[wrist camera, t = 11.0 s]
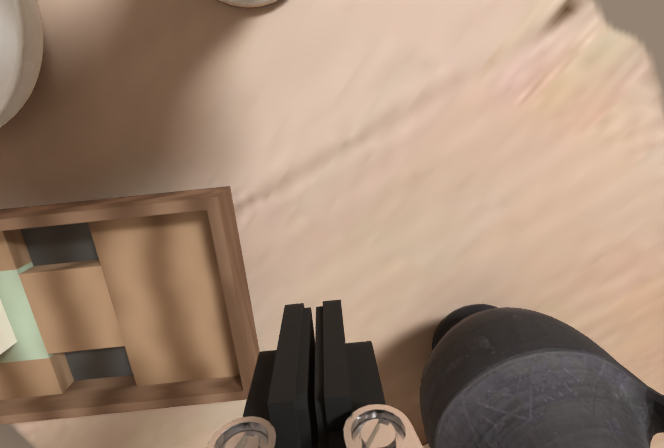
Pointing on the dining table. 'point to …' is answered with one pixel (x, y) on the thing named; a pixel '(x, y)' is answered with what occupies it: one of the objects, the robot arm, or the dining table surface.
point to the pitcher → (530, 386)
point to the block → (5, 331)
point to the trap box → (124, 306)
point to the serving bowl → (18, 54)
